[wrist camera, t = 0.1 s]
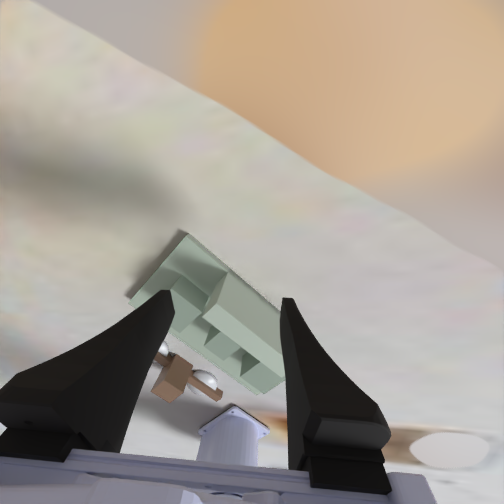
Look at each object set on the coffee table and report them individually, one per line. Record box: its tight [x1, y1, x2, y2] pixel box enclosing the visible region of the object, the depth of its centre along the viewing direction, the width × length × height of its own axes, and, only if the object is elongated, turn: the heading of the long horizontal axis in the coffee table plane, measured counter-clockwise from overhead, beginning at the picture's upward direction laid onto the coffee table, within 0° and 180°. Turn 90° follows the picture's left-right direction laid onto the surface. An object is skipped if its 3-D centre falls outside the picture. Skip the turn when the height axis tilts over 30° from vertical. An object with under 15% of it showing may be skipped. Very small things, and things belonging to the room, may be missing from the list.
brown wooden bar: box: [151, 341, 223, 403], centre depth 28 cm, size 4×16×4 cm, turn 46°
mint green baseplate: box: [128, 234, 286, 395], centre depth 23 cm, size 12×22×7 cm, turn 47°
